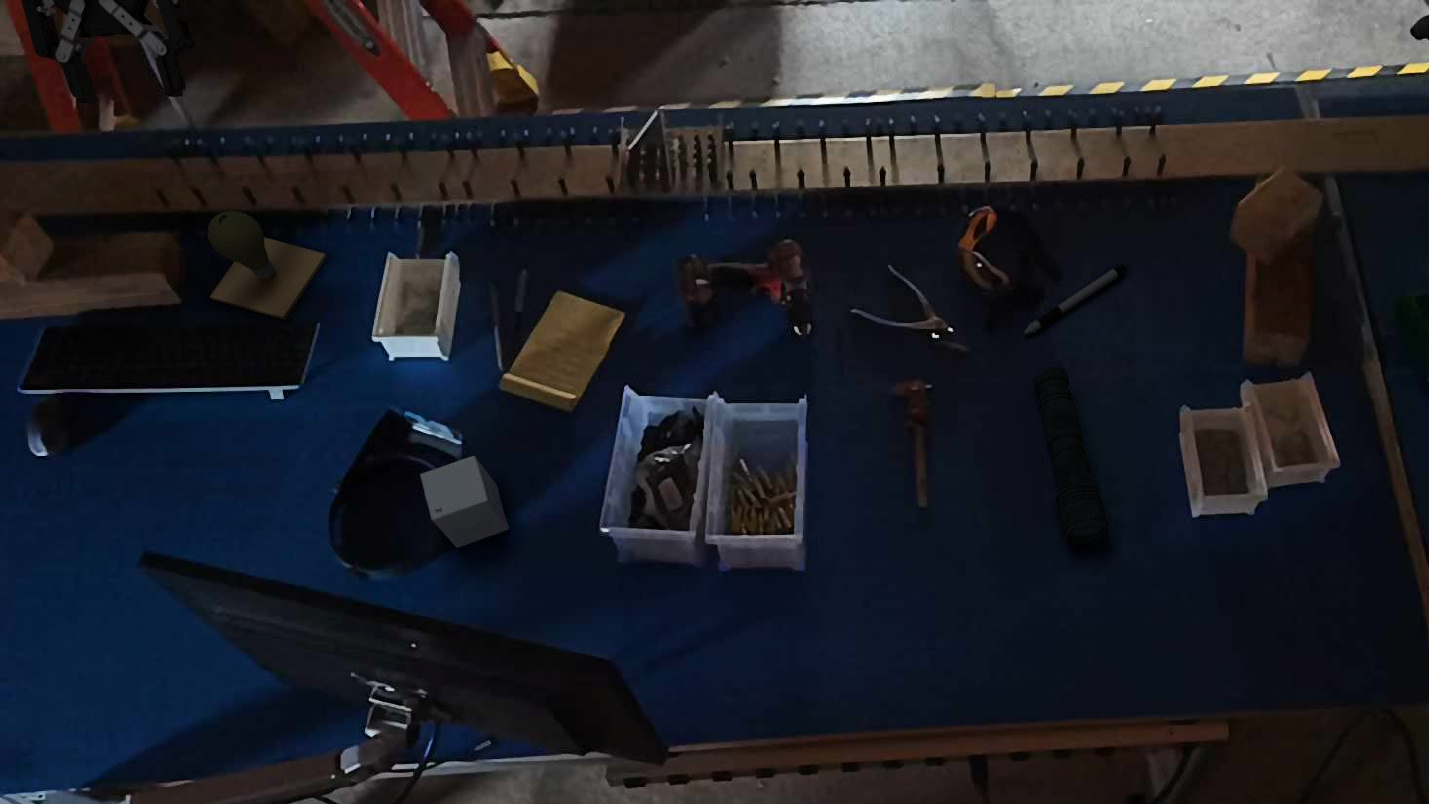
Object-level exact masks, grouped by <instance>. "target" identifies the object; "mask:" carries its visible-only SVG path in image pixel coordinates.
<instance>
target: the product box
mask: <svg viewBox="0 0 1429 804" xmlns="http://www.w3.org/2000/svg"><path fill="white" fill-rule="evenodd" d="M419 476H420V480H421V484H422V487H423V491H424V497H425V500H426V504H427V507H428V510H429V514H430V519H431V521H432V522H433V524H434V525H435V526H437V528H438V529H439V530H440V531H441V532H442V533H443V534H444V535H445V537H446V538H447V539H448V540H449V541H450V543H452V544H453V545H454V547H455V548H461V547H464V546H467V545H470V544H472V543H475V542H477V541H480V540H483V539H487V538H489V537H492V536H495V535H497V534H500V533H502V532H506V531H509V530H510V526H509V523H508V521H507V518H506V515H505V511H504V507H503V504H502V501H501V496H500V492H499V487H498V485H497V484H496V482H495V481H494V480H493V478H492V477H491V475H490V474H489V473H488V472H487V470H486V469H485V468H484V467H483V465H482V464H481V462H480V461H479V460H478V458H477V457H476V456H475V455H471V456H469V457H465V458H463V459H460V460H457V461H454V462H451V463H449V464H446V465H443V466H440V467H437V468H434V469H431V470H428V471H426V472H422V473H420V474H419Z"/></svg>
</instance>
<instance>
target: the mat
mask: <svg viewBox="0 0 1429 804" xmlns="http://www.w3.org/2000/svg"><path fill="white" fill-rule="evenodd" d="M264 242H265V249H266V251H267V254H268V258H269V260H270V261H271V262H272V263H273V265H274V266H275V271H274V273H273V274H272V275H271V276H270V277H268V278H258V277H257V276H256V275H255V274H254V273H253V272H252V271H251V270H250V269H249V268H247V267H245V266H243V265H242V264H241V263H239V262H236V261H233V263H232V265H231V266H230V267H229V268H228V270H227V271H226V272H225V274H224V275H223V277H222V278H221V280H220V282H219V283H218V284H217V285H216V287H215V289H214V290H213V291H212V293H211V294H210V296H209V298H210V300H212V301H216V302H218V303H219V302H220V303H223V304H226V305H230V306H233V307H238V308H241V309H244V310H249V311H251V312H255V313H259V314H263V315H266V316H270V317H273V318H276V319H280V320H284V321H286V320H287V318H288V317H289V316H290V314H291V312H292V311H293V309H294V308H295V307H296V305H297V303H298V302H299V300H300V299H301V297H302V295H304V293H305V291H306V290H307V288H308V287H309V285H310V283H311V282H312V280H313V279H314V277H315V276H316V274H318V272H319V271H320V269H321V267H322V266H323V264H324V262H325V261H326V260H327V258H328V256H327V254H326V253H324V252H320V251H317V250H313V249H309V248H304V247H301V246H298V245H294V244H290V243H287V242H283V241H279V240H275V239H272V238H268V237H265V236H264Z"/></svg>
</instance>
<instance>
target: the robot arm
mask: <svg viewBox="0 0 1429 804" xmlns="http://www.w3.org/2000/svg"><path fill="white" fill-rule="evenodd" d="M20 1H21V5H22V9H23V13H24V16H25V20H26V24H27V28H28V31H29V35H30V38H31V42H32V46H33V50H34V53H35V55H37V57H40V58H46V59H50V60H53V61H56V62H58V63H59V64H60V66H61V68H62V71H63V75H64V77H65V80H66V81H65V82H66V84H67V87H68V90H69V93H70V94H71V95H72V97H73V98H76V99H77V101H78V103H80V104H97V103H98V97H97V94H96V90H95V87H94V84H93V81H92V77H91V74H90V71H89V68H88V65H87V63H83V62H84V60H85V57H86V54H87V53H88V49H89V47H90V46H92V45H93V44H94V42H95V39H96V37H99V38H107V37H108V38H109V37H112V36H115V35H120V36H121V35H123V36H135V37H136V38H137V39H139V40H141V41H142V42H143V43H145V45H147V47H149V48H150V49H151V50H152V51H153V52H154V53H156V55H157V56H155V57H154V61H155V65H156V68H157V71H158V74H159V78H160V81H161V85H162V89H163V92H164V94H165V96H166V97H168V98H180V97H183V96H184V91H186V87H187V84H186V80H185V77H184V73H183V69H182V66H181V63H180V58H179V56H180V55H181V53H183V52H185V51H186V50H189V49H191V50H192V49H194V48H195V46H196V41H195V37H194V34H193V31H192V29H191V25H190V22H189V19H188V16H187V14H186V11H185V7H184V5H183V2H182V0H20ZM150 1H151V3H152V5H153V6H154V7H155V8H156V9H158V10H159V12H160V16H161V19H162V21H163V24H164V27H165V30H166V32H167V35H166V34H164V32H163V29H161V28H160V27H159V26H158V25H157V24H156V23H155V22H154V21H153V20H152V19H150V17H148V16H147V15H146V14H145V13H146V10H147V8H148V4H149V2H150ZM57 8H58V9H59V11H61V12H62V13H63V14H64V15H65V16H66V17H65V19H64V21H63V25H62V27H61V30H60V33H58V29H57V25H56V21H55V18H54V17H55V16H56V14H57Z"/></svg>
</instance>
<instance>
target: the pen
mask: <svg viewBox="0 0 1429 804" xmlns="http://www.w3.org/2000/svg"><path fill="white" fill-rule="evenodd" d="M1126 271H1127V268H1126V266H1125V265H1124V264H1120V265H1118V266H1116V267H1113V268H1111V269H1110V270H1109V271H1107V272H1106V273H1104V274H1103V275H1102V276H1100V277H1099V278H1097V279H1095V280H1094V281H1093V282H1091V283H1090V284H1088V285H1086V286H1085V287H1084V288H1082V289H1081V290H1079V291H1077V292H1076V293H1074V294H1073V295H1072V296H1070V297H1069V298H1067V299H1066V300H1065V301H1063V302H1061V303H1060V304H1059V305H1057V306H1055V307H1054V308H1052V309H1050V310H1049V311H1048V312H1046V313H1044V314H1043V315H1041V316H1040V317H1038V318H1037V319H1036V320H1035V319H1034V321H1032V322H1030V323H1029V324H1028V326H1027V328H1026V329H1025V330H1024V332H1023V335H1028V334H1033V333H1034V334H1036V333H1037V331H1039V330H1041V329H1042V328H1044V327H1045V326H1047V325H1048V324H1050V323H1051V322H1052V321H1054V320H1055V319H1057V318H1059V317H1060V316H1062V315H1063V314H1064V313H1066V312H1067V311H1069V310H1071V309H1073V307H1075V306H1077V305H1078V304H1080V303H1081V302H1083V301H1084V300H1086V299H1088V298H1089V297H1090V296H1092V295H1093V294H1095V293H1096V292H1098V291H1099V290H1101V289H1103V288H1104V287H1106V286H1108V284H1110V283H1111V282H1113V281H1115V280H1116V279H1118V278H1120V276H1121V275H1123V274H1124V273H1125V272H1126Z"/></svg>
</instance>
